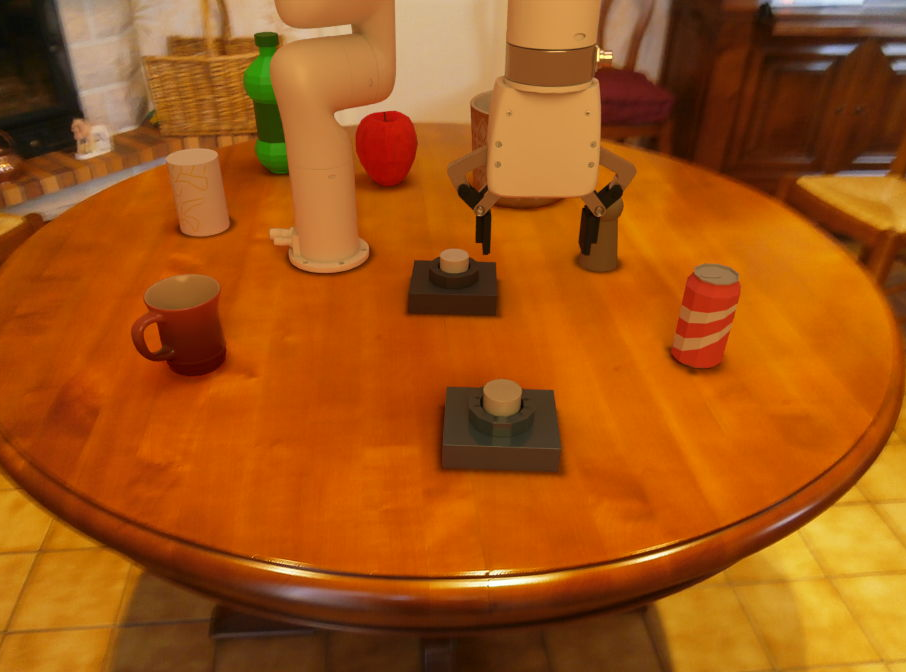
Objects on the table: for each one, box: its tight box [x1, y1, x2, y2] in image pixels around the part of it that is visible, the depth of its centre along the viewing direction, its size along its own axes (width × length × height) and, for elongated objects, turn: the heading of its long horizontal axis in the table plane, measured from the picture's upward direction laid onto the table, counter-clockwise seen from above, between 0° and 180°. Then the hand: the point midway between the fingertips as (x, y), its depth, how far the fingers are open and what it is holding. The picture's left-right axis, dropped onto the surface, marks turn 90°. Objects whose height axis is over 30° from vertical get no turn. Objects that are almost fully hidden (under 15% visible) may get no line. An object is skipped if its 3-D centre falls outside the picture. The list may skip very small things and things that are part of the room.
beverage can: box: [670, 263, 742, 369], centre depth 89 cm, size 6×6×12 cm
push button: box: [439, 248, 470, 273], centre depth 102 cm, size 4×4×2 cm
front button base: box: [441, 385, 562, 473], centre depth 79 cm, size 12×10×5 cm
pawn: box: [577, 197, 625, 273], centre depth 111 cm, size 6×6×11 cm
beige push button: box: [483, 378, 522, 416], centre depth 77 cm, size 4×4×2 cm
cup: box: [165, 147, 231, 237], centre depth 122 cm, size 8×8×12 cm
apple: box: [354, 110, 419, 187], centre depth 138 cm, size 12×12×13 cm
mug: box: [130, 273, 228, 378], centre depth 88 cm, size 12×9×10 cm
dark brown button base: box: [408, 256, 498, 317], centre depth 104 cm, size 12×10×5 cm
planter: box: [469, 89, 561, 209], centre depth 133 cm, size 19×19×16 cm
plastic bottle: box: [242, 31, 289, 175], centre depth 140 cm, size 10×10×25 cm
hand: (534, 249), depth 72 cm, fingers open, 9 cm apart
